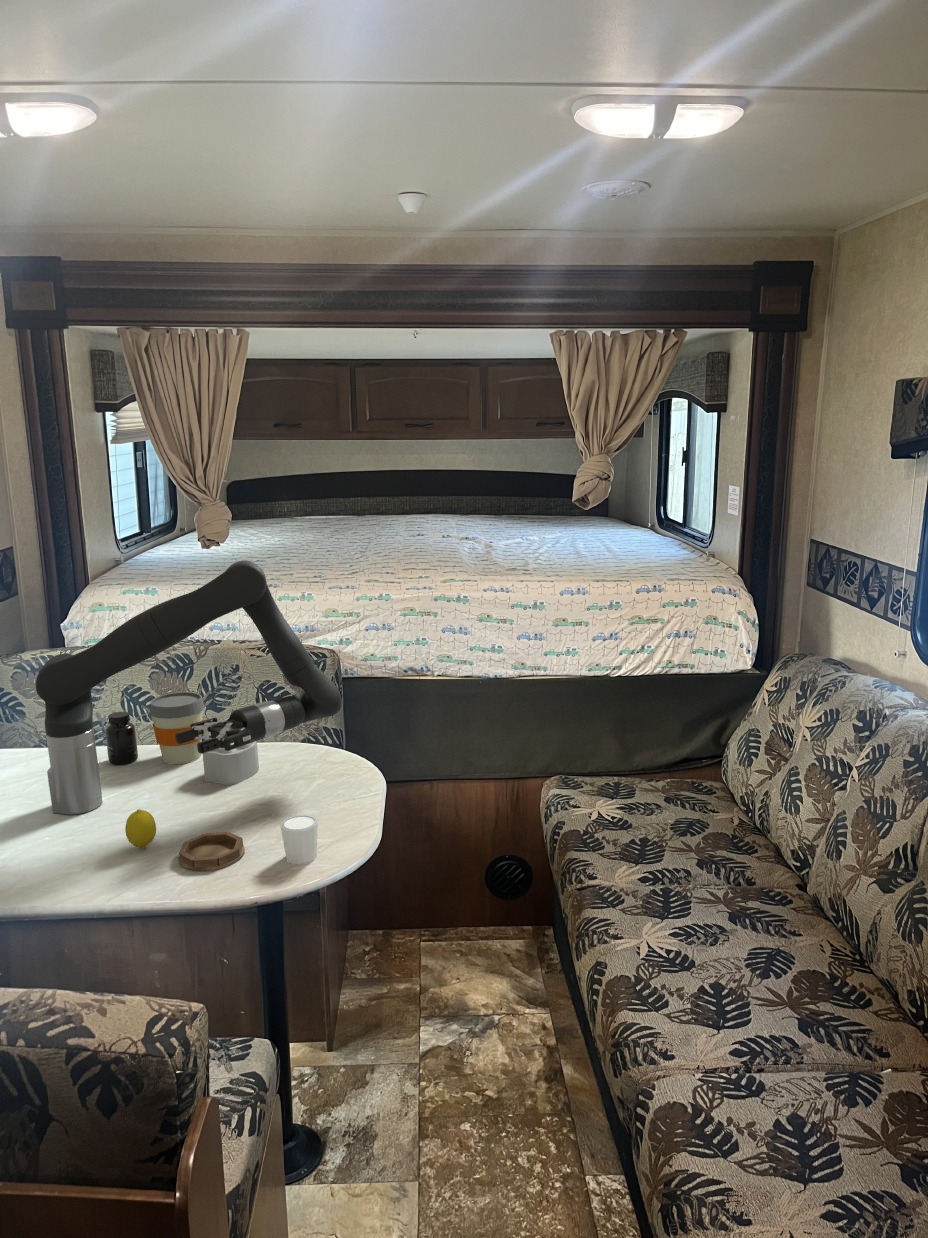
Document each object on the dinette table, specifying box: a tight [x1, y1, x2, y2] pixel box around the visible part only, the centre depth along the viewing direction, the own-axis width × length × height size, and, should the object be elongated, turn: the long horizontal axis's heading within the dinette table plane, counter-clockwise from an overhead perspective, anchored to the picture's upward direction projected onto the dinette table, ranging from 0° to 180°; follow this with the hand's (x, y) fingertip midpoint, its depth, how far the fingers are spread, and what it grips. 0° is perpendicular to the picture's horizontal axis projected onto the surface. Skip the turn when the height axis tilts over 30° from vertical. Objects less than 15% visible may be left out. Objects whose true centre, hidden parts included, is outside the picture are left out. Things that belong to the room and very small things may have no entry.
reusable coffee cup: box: [149, 691, 205, 765], centre depth 212 cm, size 12×13×15 cm
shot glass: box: [280, 814, 319, 865], centre depth 161 cm, size 7×7×7 cm
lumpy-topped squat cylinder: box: [202, 741, 260, 786], centre depth 202 cm, size 10×13×9 cm
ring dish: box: [178, 831, 246, 872], centre depth 163 cm, size 12×12×2 cm
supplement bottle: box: [104, 711, 139, 766], centre depth 211 cm, size 7×7×12 cm
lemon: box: [124, 808, 157, 849], centre depth 166 cm, size 6×6×8 cm
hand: (187, 743), depth 171 cm, fingers open, 8 cm apart
